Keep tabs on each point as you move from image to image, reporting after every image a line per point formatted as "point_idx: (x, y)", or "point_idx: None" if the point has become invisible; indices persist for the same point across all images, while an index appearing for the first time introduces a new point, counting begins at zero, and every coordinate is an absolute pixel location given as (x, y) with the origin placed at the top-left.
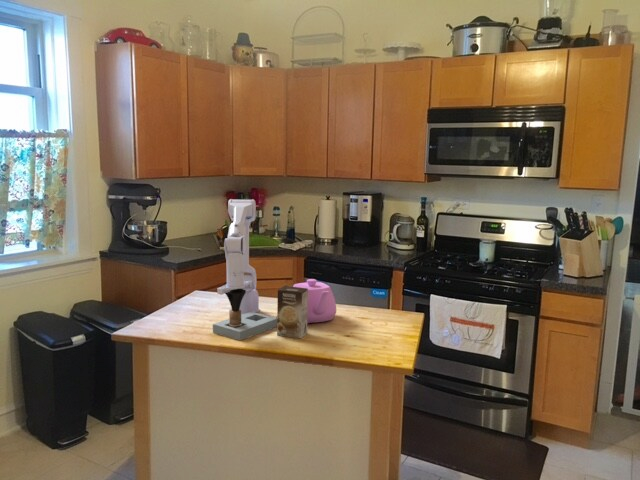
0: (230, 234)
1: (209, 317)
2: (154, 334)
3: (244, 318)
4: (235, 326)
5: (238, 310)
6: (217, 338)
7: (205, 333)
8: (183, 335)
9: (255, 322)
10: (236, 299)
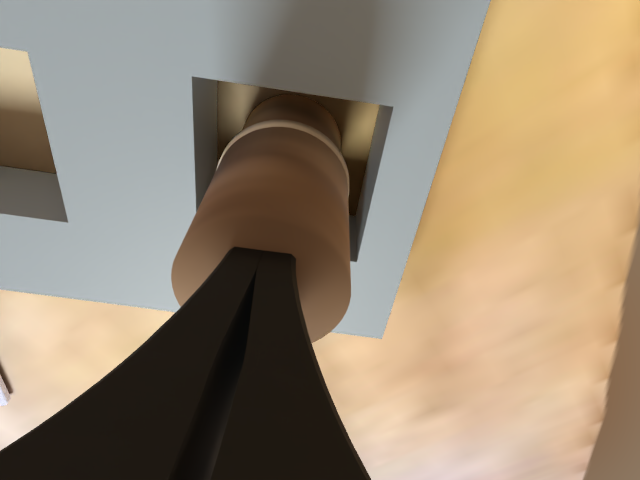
0: None
1: None
2: (537, 472)
3: (77, 217)
4: (336, 147)
5: (246, 251)
6: (487, 190)
7: (417, 313)
8: (505, 383)
9: (68, 24)
10: (325, 444)
